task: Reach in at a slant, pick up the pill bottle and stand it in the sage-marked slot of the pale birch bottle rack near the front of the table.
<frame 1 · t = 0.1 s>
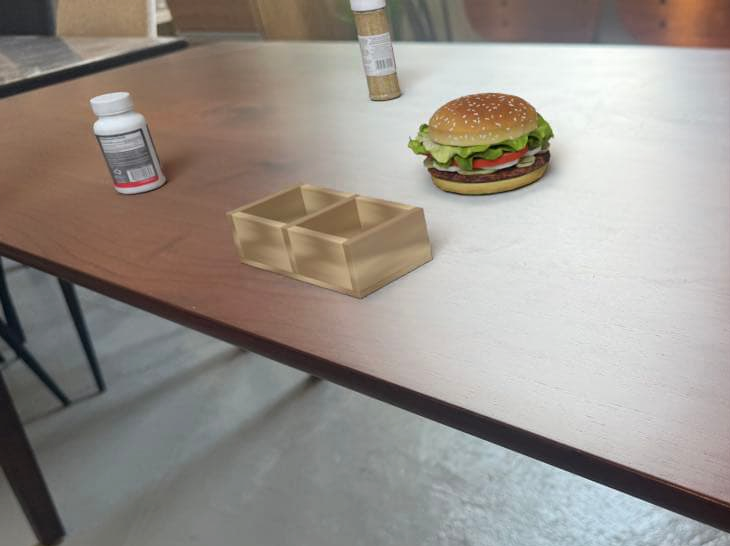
rack: (334, 261, 73), on the table
pill bottle: (142, 188, 96), on the table
brown spice jar: (385, 98, 121), on the table
food: (485, 180, 88), on the table
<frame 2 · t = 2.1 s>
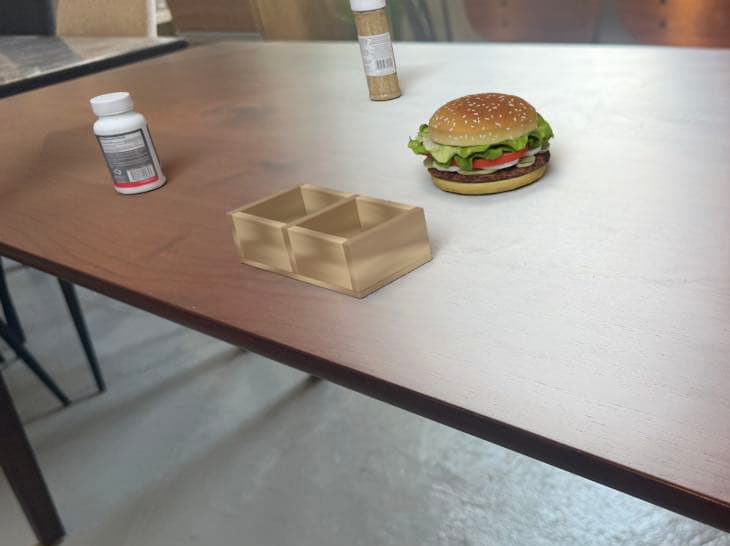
nothing on the table moved.
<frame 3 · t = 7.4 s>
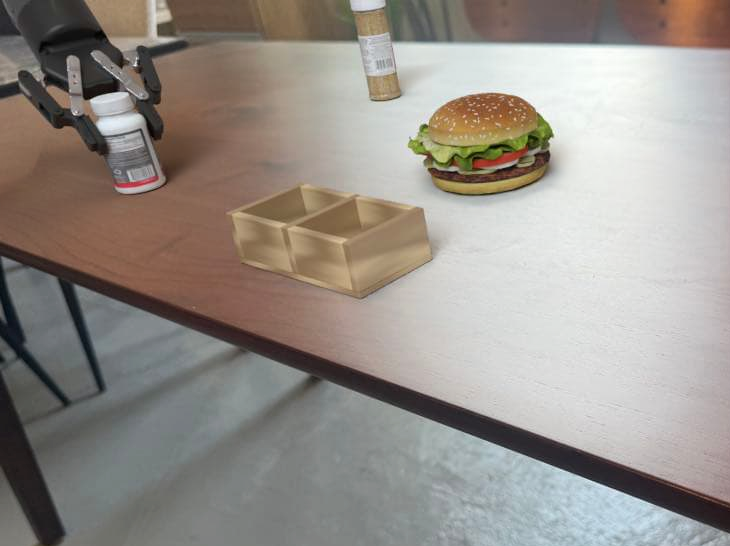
hand: (131, 142, 92), 5 cm above the table, tool tilted 45°, fingers closed on pill bottle, 5 cm apart
pill bottle: (142, 188, 96), on the table, touching gripper
everything else where it was.
when the fingers open (6 cm above the table, at t = 18.4 s): pill bottle stays where it is, resting on rack.
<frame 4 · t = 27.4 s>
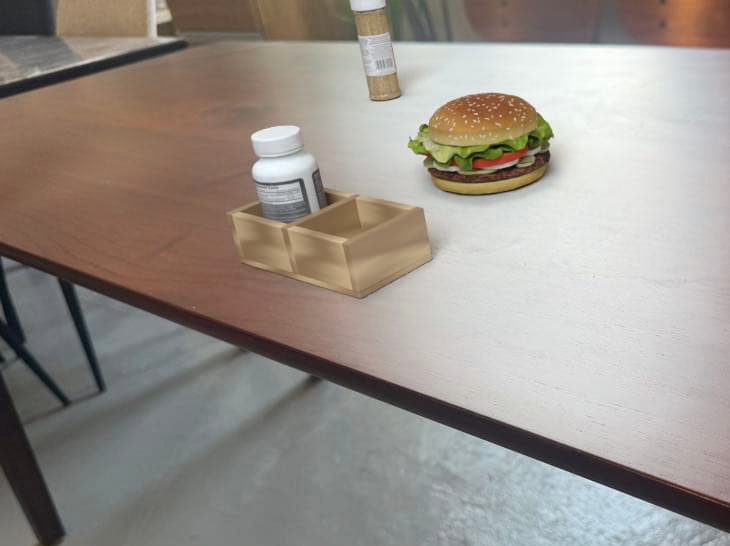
pill bottle: (305, 247, 75), point 1 cm above the table, touching rack
everything else where it was.
at the end: pill bottle 0.1 cm from the target spot in the rack, point 0.5 cm above the rack's base; pill bottle tilted 0°; the gripper is holding nothing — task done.
